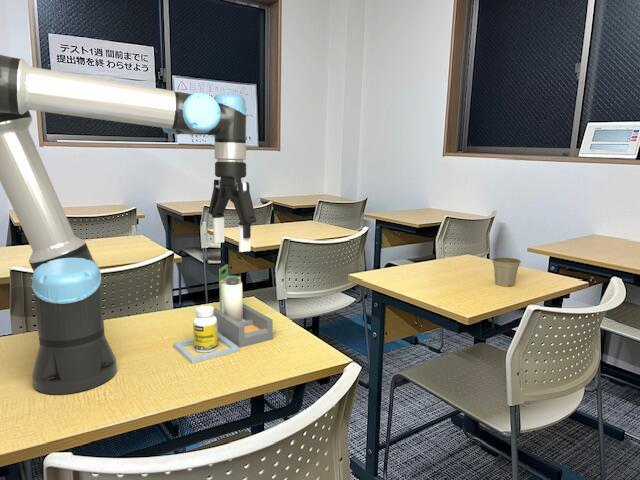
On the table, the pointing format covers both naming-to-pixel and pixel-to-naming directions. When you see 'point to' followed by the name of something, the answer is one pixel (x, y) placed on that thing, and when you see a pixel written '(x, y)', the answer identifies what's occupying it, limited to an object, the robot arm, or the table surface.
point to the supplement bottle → (205, 330)
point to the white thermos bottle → (233, 299)
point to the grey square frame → (194, 359)
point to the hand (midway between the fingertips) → (231, 246)
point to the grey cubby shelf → (245, 327)
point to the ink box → (222, 280)
